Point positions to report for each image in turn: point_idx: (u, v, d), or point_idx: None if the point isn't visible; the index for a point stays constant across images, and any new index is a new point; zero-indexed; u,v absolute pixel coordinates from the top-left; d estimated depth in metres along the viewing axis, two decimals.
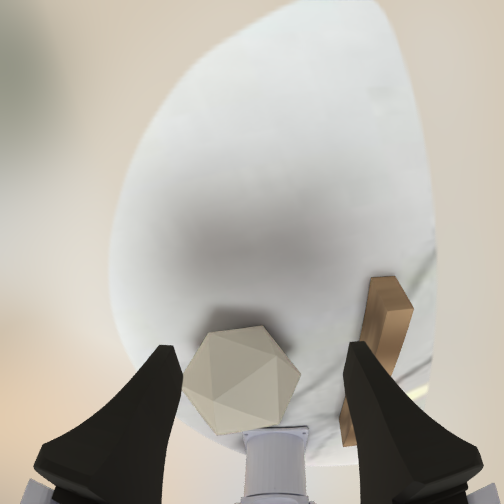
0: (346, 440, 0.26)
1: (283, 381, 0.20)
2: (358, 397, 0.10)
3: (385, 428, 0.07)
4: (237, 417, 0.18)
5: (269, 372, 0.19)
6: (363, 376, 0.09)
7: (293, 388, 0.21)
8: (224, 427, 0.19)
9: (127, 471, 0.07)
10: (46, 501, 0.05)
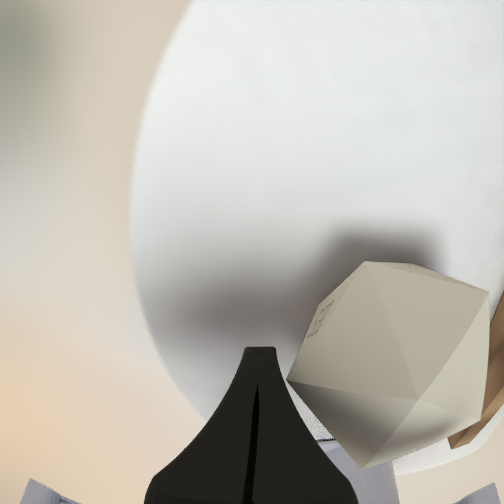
0: (460, 439, 0.16)
1: None
2: None
3: (258, 439, 0.07)
4: (433, 424, 0.07)
5: (483, 324, 0.08)
6: (257, 383, 0.10)
7: None
8: (390, 452, 0.08)
9: (250, 487, 0.06)
10: (46, 501, 0.05)
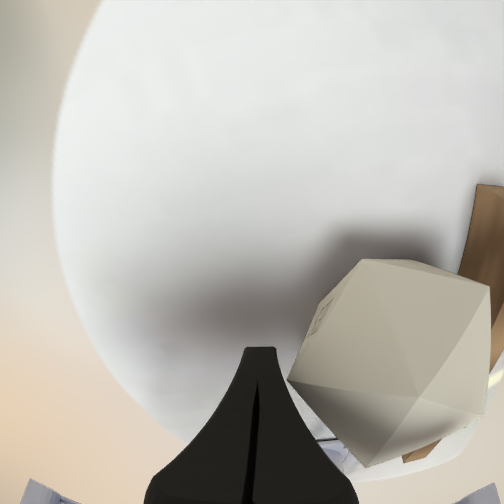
0: (411, 454, 0.16)
1: None
2: (259, 403, 0.10)
3: None
4: (435, 421, 0.07)
5: (484, 319, 0.08)
6: (258, 383, 0.10)
7: None
8: (393, 450, 0.08)
9: (250, 487, 0.06)
10: (46, 501, 0.05)
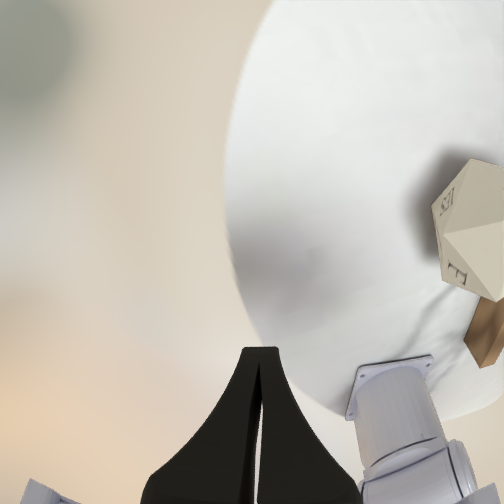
0: (487, 355, 0.19)
1: None
2: (262, 403, 0.10)
3: None
4: None
5: None
6: (261, 382, 0.10)
7: None
8: None
9: (246, 487, 0.06)
10: (46, 501, 0.05)
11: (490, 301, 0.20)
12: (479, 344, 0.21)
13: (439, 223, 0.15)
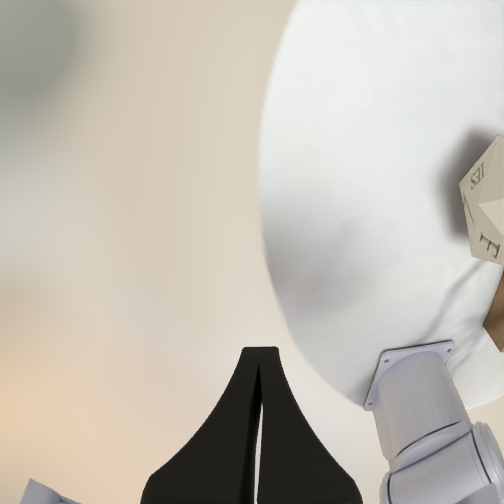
0: None
1: None
2: None
3: (262, 439, 0.07)
4: None
5: None
6: (261, 382, 0.10)
7: None
8: None
9: (246, 487, 0.06)
10: (46, 501, 0.05)
11: None
12: (499, 328, 0.20)
13: (471, 196, 0.14)
